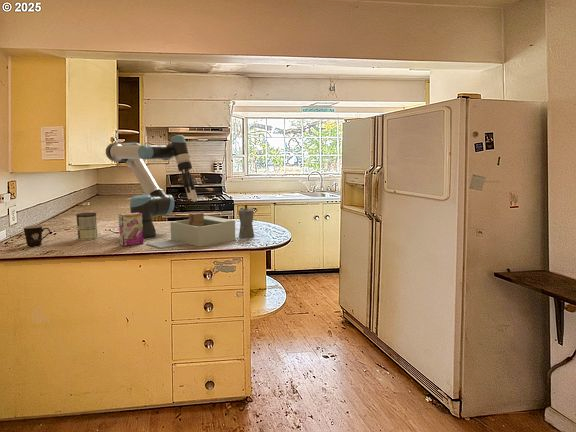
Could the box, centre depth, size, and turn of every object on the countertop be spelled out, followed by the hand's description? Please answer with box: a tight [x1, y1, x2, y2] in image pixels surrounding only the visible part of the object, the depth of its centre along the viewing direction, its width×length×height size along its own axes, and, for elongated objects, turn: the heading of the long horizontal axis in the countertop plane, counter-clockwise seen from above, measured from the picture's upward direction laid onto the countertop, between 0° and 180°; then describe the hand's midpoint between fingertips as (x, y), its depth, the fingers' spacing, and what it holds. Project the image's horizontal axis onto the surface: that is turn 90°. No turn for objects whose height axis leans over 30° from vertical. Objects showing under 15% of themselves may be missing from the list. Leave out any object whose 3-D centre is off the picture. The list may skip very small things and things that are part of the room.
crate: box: [170, 215, 236, 248], centre depth 263 cm, size 26×24×11 cm
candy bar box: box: [118, 212, 144, 247], centre depth 251 cm, size 11×5×16 cm, turn 131°
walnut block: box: [188, 212, 205, 227], centre depth 259 cm, size 5×6×10 cm
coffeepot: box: [237, 204, 255, 239], centre depth 272 cm, size 15×9×18 cm, turn 26°
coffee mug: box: [22, 225, 51, 247], centre depth 250 cm, size 12×9×10 cm
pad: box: [146, 239, 186, 250], centre depth 251 cm, size 14×14×1 cm
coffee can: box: [76, 212, 99, 241], centre depth 267 cm, size 10×10×14 cm
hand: (193, 200), depth 265 cm, fingers open, 13 cm apart
